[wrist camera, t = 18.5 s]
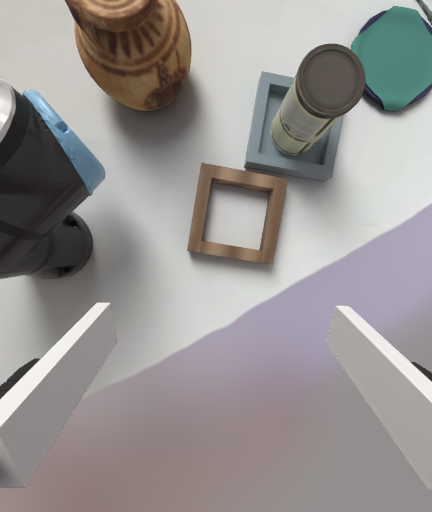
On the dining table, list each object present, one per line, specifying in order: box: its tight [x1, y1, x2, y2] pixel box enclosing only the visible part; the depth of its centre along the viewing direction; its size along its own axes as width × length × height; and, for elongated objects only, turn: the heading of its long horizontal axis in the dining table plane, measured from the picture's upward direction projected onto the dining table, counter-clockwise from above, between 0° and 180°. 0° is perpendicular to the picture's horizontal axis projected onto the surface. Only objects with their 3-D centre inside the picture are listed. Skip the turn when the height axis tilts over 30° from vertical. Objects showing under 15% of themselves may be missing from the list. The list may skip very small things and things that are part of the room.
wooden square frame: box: [187, 163, 288, 265], centre depth 44 cm, size 18×18×3 cm
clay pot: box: [65, 0, 191, 111], centre depth 35 cm, size 19×19×20 cm
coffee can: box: [270, 44, 366, 156], centre depth 38 cm, size 10×10×14 cm
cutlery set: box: [351, 0, 432, 111], centre depth 45 cm, size 20×30×2 cm, turn 130°
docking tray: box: [244, 71, 343, 182], centre depth 44 cm, size 18×18×3 cm
